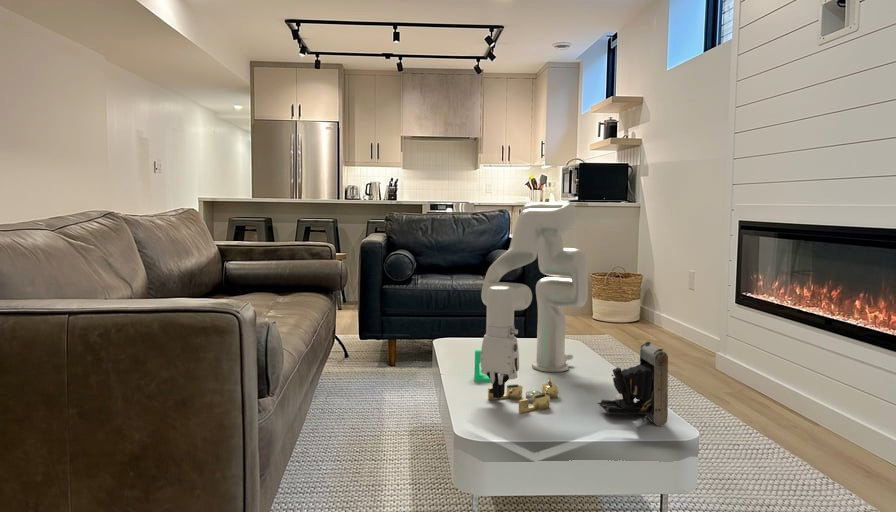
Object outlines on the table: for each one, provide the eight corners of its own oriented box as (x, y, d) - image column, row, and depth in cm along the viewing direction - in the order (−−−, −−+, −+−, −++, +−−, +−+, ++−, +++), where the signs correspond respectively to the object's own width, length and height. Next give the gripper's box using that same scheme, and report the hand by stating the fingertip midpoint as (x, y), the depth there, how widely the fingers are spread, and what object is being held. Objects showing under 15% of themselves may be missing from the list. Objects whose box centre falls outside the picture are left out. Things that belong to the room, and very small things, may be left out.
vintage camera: (596, 415, 155) (596, 343, 153) (652, 413, 156) (653, 340, 155) (609, 430, 146) (610, 352, 144) (668, 426, 147) (670, 350, 145)
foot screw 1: (517, 394, 167) (518, 382, 166) (524, 398, 163) (525, 386, 162) (485, 397, 163) (485, 385, 163) (491, 402, 159) (491, 389, 159)
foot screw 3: (558, 399, 163) (558, 386, 163) (542, 398, 163) (542, 386, 163) (556, 388, 173) (556, 376, 173) (541, 387, 173) (541, 376, 173)
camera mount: (499, 387, 178) (499, 354, 178) (474, 386, 179) (474, 353, 178) (497, 376, 190) (498, 345, 190) (474, 375, 191) (475, 344, 190)
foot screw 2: (540, 403, 159) (541, 390, 158) (552, 407, 155) (553, 395, 155) (513, 410, 153) (514, 397, 152) (525, 415, 149) (526, 402, 149)
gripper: (530, 332, 157) (528, 398, 159) (482, 326, 165) (481, 389, 167) (518, 337, 151) (516, 406, 152) (469, 330, 159) (468, 395, 160)
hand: (498, 397), depth 160 cm, fingers closed
